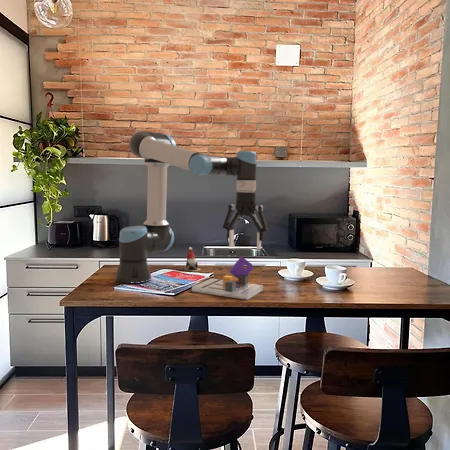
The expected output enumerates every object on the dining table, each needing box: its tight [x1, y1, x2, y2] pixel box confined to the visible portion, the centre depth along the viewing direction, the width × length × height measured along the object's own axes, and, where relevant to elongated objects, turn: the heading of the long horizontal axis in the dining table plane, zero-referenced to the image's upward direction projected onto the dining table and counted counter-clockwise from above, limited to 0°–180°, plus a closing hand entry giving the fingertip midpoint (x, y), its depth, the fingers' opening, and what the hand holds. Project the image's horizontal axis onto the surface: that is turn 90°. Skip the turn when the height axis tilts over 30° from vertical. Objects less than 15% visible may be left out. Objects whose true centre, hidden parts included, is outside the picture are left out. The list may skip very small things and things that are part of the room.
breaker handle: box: [222, 274, 234, 286], centre depth 172 cm, size 3×3×4 cm
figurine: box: [184, 246, 202, 272], centre depth 211 cm, size 8×10×12 cm
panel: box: [191, 274, 264, 301], centre depth 172 cm, size 24×16×6 cm, turn 63°
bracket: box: [228, 255, 254, 279], centre depth 184 cm, size 12×7×7 cm
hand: (244, 247), depth 167 cm, fingers open, 11 cm apart
